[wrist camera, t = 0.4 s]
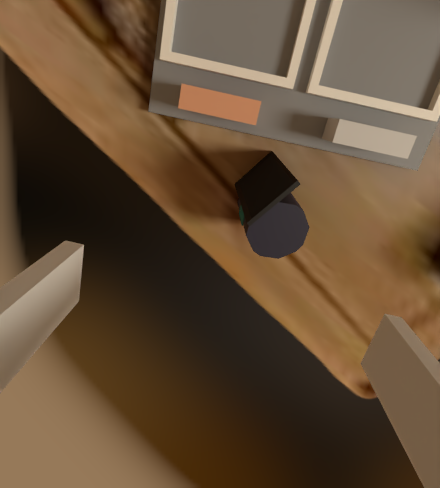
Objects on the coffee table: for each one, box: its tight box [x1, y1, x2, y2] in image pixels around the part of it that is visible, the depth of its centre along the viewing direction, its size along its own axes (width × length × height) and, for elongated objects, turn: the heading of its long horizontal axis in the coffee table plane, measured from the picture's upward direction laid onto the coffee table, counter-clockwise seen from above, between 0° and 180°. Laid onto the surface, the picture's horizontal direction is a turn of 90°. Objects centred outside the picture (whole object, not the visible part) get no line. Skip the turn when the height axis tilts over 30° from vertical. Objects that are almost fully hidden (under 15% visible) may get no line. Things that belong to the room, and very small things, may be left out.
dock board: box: [149, 0, 440, 171], centre depth 29 cm, size 18×28×5 cm, turn 78°
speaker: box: [235, 151, 309, 259], centre depth 32 cm, size 8×6×10 cm
